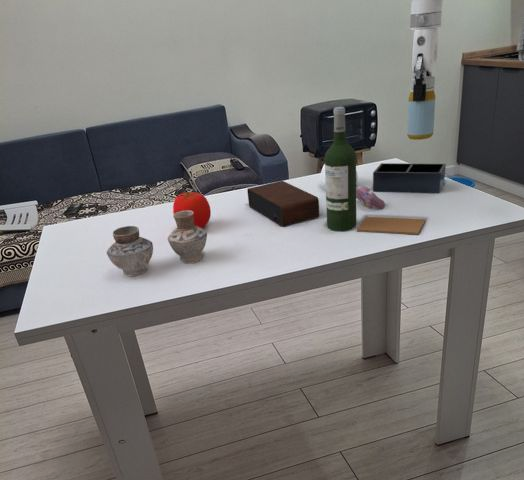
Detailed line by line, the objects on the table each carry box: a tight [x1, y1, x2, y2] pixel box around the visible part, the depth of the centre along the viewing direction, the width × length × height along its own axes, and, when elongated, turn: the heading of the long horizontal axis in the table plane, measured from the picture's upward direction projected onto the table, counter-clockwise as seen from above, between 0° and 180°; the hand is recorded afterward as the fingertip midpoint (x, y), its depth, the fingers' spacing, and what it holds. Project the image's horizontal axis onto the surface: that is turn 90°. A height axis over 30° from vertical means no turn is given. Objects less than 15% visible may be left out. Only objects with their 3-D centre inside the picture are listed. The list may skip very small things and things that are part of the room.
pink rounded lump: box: [356, 185, 386, 210], centre depth 156 cm, size 10×5×7 cm, turn 22°
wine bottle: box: [324, 106, 357, 232], centre depth 138 cm, size 8×8×30 cm
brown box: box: [246, 180, 320, 228], centre depth 159 cm, size 24×12×6 cm, turn 25°
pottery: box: [106, 210, 208, 277], centre depth 133 cm, size 11×25×12 cm, turn 109°
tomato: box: [172, 191, 212, 229], centre depth 153 cm, size 10×11×11 cm
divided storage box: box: [372, 162, 447, 194], centre depth 167 cm, size 20×10×6 cm, turn 66°
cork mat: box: [356, 215, 426, 236], centre depth 142 cm, size 16×10×1 cm, turn 66°
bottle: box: [406, 75, 436, 141], centre depth 147 cm, size 7×7×15 cm
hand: (422, 97), depth 145 cm, fingers closed on bottle, 7 cm apart
